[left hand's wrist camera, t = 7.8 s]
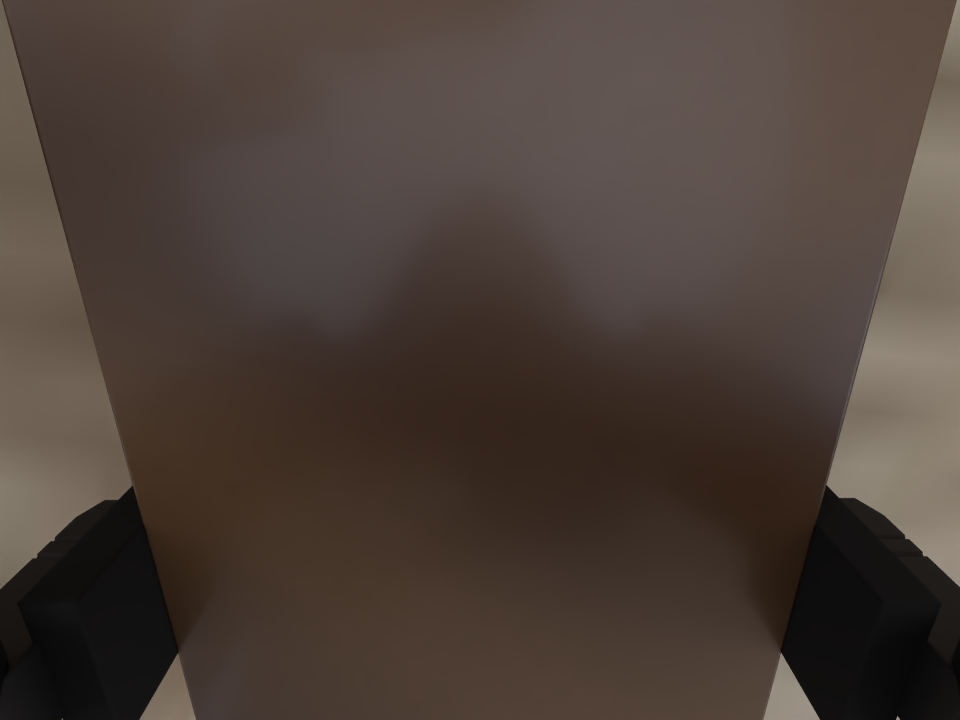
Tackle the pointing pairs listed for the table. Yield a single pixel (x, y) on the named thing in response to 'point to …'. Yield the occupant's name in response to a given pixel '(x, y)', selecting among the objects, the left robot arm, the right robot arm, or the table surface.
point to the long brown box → (479, 329)
